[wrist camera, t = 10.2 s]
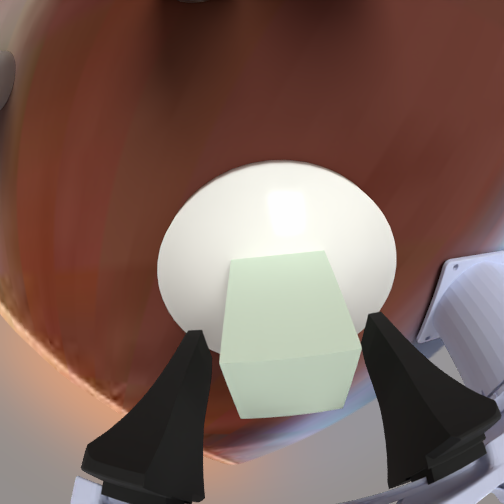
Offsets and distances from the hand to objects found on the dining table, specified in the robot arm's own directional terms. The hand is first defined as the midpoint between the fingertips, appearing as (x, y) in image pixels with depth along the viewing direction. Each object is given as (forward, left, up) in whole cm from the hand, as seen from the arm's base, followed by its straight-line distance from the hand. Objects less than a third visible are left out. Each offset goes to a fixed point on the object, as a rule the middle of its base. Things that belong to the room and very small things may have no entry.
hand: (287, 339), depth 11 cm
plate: (0, 0, -4) cm, 4 cm away
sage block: (0, 0, -3) cm, 3 cm away
